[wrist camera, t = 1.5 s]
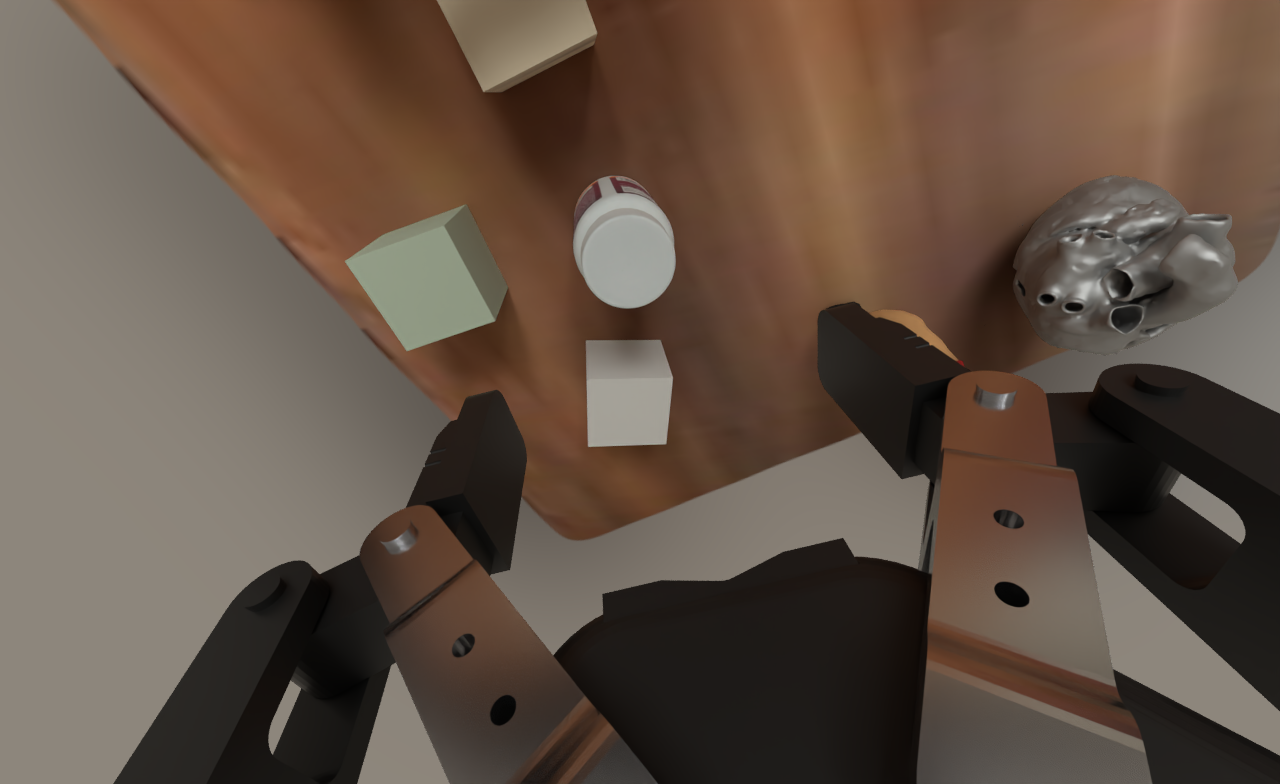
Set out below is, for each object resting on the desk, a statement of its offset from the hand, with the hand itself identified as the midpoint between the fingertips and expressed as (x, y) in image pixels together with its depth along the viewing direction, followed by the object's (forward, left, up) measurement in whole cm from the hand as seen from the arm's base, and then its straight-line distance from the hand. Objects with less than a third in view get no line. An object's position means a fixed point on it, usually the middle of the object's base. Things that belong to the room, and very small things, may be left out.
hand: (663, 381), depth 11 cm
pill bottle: (0, 0, -18) cm, 18 cm away
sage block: (0, -10, -18) cm, 20 cm away
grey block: (+10, -2, -18) cm, 20 cm away
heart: (+8, +26, -18) cm, 32 cm away
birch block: (-10, -2, -18) cm, 20 cm away
